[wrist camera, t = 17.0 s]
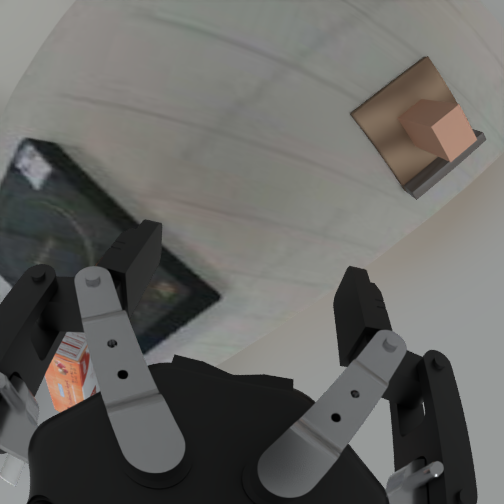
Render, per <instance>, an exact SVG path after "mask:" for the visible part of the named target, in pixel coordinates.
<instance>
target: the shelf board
mask: <svg viewBox="0 0 504 504" xmlns="http://www.w3.org/2000/svg"><path fill="white" fill-rule="evenodd" d="M421 99H425V100H433V101H441V102H448V103H454V104H457V102H456V100H455V98H454V97H453V95H452V93H451V92H450V90H449V88H448V87H447V85H446V83H445V82H444V80H443V78H442V77H441V75H440V74H439V72H438V71H437V69H436V68H435V66H434V65H433V63H432V62H431V60H430V59H429V57H428V56H427V57H424V58H422V59H421V60H420V61H418V62H417V63H415V64H414V65H413V66H411V67H410V68H409V69H407V70H406V71H405V72H403V73H402V74H401V75H399V76H398V77H397V78H396V79H394V80H393V81H392V82H390V83H389V84H388V85H386V86H385V87H384V88H382V89H381V90H380V91H379V92H377V93H376V94H375V95H373V96H372V97H371V98H370V99H368V100H367V101H366V102H364V103H363V104H362V105H361V106H359V107H358V108H357V109H356V110H354V111H353V112H352V113H351V116H352V117H353V118H354V120H355V121H356V122H357V123H358V125H359V126H360V127H361V129H362V130H363V131H364V133H365V134H366V135H367V137H368V138H369V139H370V141H371V142H372V143H373V145H374V146H375V147H376V149H377V150H378V152H379V153H380V155H381V156H382V157H383V159H384V160H385V162H386V163H387V165H388V166H389V167H390V169H391V170H392V172H393V173H394V175H395V176H396V178H397V179H398V181H399V182H400V184H401V186H402V187H403V189H404V190H405V191H406V192H407V193H409V194H410V195H411V196H413V197H414V198H415V199H416V200H417V199H418V198H419V197H421V196H422V195H423V194H424V193H425V192H427V191H428V190H429V189H430V188H431V187H433V186H434V185H435V184H436V183H437V182H439V181H440V180H441V179H442V178H443V177H444V176H446V175H447V174H448V173H449V172H450V171H451V170H453V169H454V168H455V167H456V166H457V165H458V164H460V163H461V162H462V161H463V160H464V159H465V158H466V157H468V156H469V155H470V154H471V153H472V152H473V151H474V150H475V149H477V148H478V147H479V146H480V145H481V144H482V143H483V142H484V141H486V138H485V136H484V133H483V132H480V131H477V130H474V129H472V130H473V132H474V134H475V136H476V138H477V140H476V141H475V142H474V143H473V144H472V145H471V146H469V147H468V148H467V149H466V150H465V151H464V152H462V153H461V154H460V155H459V156H458V157H457V158H455V159H454V160H453V161H452V162H449V161H447V160H445V159H443V158H440V157H438V156H436V155H434V154H432V153H429V152H427V151H425V150H423V149H420V148H418V147H416V146H415V145H414V143H413V141H412V140H411V138H410V137H409V135H408V134H407V132H406V130H405V129H404V127H403V126H402V124H401V123H400V121H399V120H398V117H399V116H400V115H402V114H403V113H404V112H406V111H407V110H408V109H409V108H411V107H412V106H413V105H415V104H416V103H417V102H418V101H420V100H421Z"/></svg>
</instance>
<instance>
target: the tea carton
mask: <svg viewBox="0 0 504 504" xmlns="http://www.w3.org/2000/svg"><path fill="white" fill-rule="evenodd" d="M398 120H399V121H400V123H401V124H402V126H403V127H404V129H405V130H406V132H407V134H408V135H409V137H410V138H411V140H412V141H413V143H414V145H415V146H416V147H418V148H420V149H423V150H425V151H427V152H429V153H432V154H434V155H436V156H438V157H440V158H443V159H445V160H447V161H449V162H452V161H453V160H454V159H455V158H457V157H458V156H459V155H460V154H461V153H462V152H464V151H465V150H466V149H467V148H468V147H469V146H471V145H472V144H473V143H474V142H475V141H476V140H477V138H476V136H475V134H474V132H473V130H472V128H471V126H470V124H469V122H468V120H467V118H466V116H465V114H464V112H463V110H462V109H461V107H460V105H459V104H454V103H448V102H441V101H433V100H425V99H421V100H420V101H418V102H417V103H416V104H415V105H413V106H412V107H411V108H409V109H408V110H407V111H406V112H404V113H403V114H402V115H400V116H399V117H398Z"/></svg>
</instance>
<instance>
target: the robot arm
mask: <svg viewBox="0 0 504 504" xmlns="http://www.w3.org/2000/svg"><path fill="white" fill-rule="evenodd" d="M161 242H162V223H159V222H155V221H150V220H146V219H145V220H143V221H142V223H141V224H140V225H139V227H138V228H137V229H132V228H130V229H128V230H127V231H125V232H123V233H121V234H120V236H119V237H118V238H117V239H116V241H115V242H114V243H113V244H112V246H111V248H109V249H108V251H107V252H106V253H105V254H104V256H103V257H102V258H101V259H100V261H99V262H98V263H97V265H96V266H92V267H87V268H84V269H82V270H81V271H79V272H78V273H77V275H76V276H75V277H56V273H55V270H54V269H53V268H52V267H51V266H49V265H45V264H39V265H35V266H33V267H31V268H29V269H28V270H27V271H26V272H25V273H24V274H23V275H22V276H21V278H20V279H19V280H18V282H17V283H16V284H15V285H14V287H13V288H12V289H11V291H10V292H9V293H8V294H7V296H6V297H5V298H4V300H3V301H2V302H1V304H0V454H4V453H9V454H11V455H12V456H14V457H16V458H18V459H20V460H22V461H24V462H26V463H28V464H29V469H30V494H29V499H28V502H27V504H476V503H477V487H476V478H475V471H474V464H473V458H472V452H471V447H470V441H469V436H468V431H467V426H466V421H465V417H464V412H463V408H462V404H461V400H460V396H459V392H458V388H457V384H456V380H455V377H454V374H453V370H452V366H451V364H450V361H449V360H448V359H447V357H446V356H445V355H443V354H442V353H441V352H438V351H436V350H430V351H428V352H426V353H425V355H424V356H423V357H421V356H419V355H417V354H414V353H412V352H409V351H407V348H406V344H405V342H404V340H403V339H402V338H401V337H400V336H399V335H398V334H396V333H395V332H393V331H392V328H391V324H390V320H389V317H388V313H387V310H386V309H385V308H386V307H385V304H384V302H383V301H384V300H383V297H382V294H381V291H380V290H379V289H378V287H377V286H376V285H375V283H371V282H370V280H369V276H368V273H367V271H366V270H365V269H361V268H357V267H352V266H349V267H348V268H347V270H346V272H345V274H344V277H343V279H342V281H341V283H340V285H339V288H338V290H337V292H336V294H335V297H334V303H333V306H334V307H333V308H334V315H335V324H336V332H337V340H338V350H339V359H340V366H344V367H347V368H346V369H345V371H344V372H343V373H342V374H341V375H340V376H339V378H338V379H337V380H336V381H335V382H334V383H333V384H332V385H331V386H330V388H329V389H328V390H327V391H326V392H325V393H324V394H323V395H322V396H321V397H320V398H319V400H318V401H317V402H315V401H314V400H312V399H311V398H310V397H309V396H307V395H306V394H304V393H303V392H301V391H299V390H296V389H294V388H293V379H288V378H282V377H276V376H270V375H265V374H263V375H232V374H229V373H227V372H225V371H223V370H220V369H218V368H216V367H214V366H212V365H210V364H207V363H205V362H203V361H199V360H194V359H190V358H186V357H182V356H178V355H174V358H173V361H172V363H157V364H152V365H149V366H147V364H146V362H145V359H144V357H143V354H142V352H141V349H140V347H139V344H138V342H137V339H136V337H135V334H134V332H133V329H132V326H131V324H130V321H129V320H130V318H131V316H132V314H133V312H134V310H135V308H136V306H137V304H138V302H139V300H140V299H141V297H142V295H143V293H144V291H145V289H146V287H147V285H148V284H149V282H150V280H151V278H152V276H153V274H154V273H155V271H156V269H157V267H158V265H159V262H160V257H161ZM67 332H80V333H85V337H86V341H87V345H88V349H89V353H90V357H91V361H92V364H93V368H94V371H95V375H96V378H97V382H98V385H99V388H100V391H99V392H98V393H96V394H94V395H92V396H90V397H88V398H87V399H85V400H83V401H81V402H79V403H77V404H75V405H74V406H72V407H70V408H68V409H66V410H64V411H62V412H60V413H59V414H57V415H55V416H53V417H51V418H49V419H48V420H46V421H44V422H43V423H42V424H40V425H39V426H38V425H37V420H38V415H39V406H38V403H37V401H36V400H35V398H34V397H35V395H36V392H37V390H38V388H39V386H40V384H41V382H42V380H43V377H44V376H45V373H46V371H47V369H48V367H49V365H50V363H51V361H52V359H53V357H54V355H55V353H56V351H57V350H58V348H59V346H60V344H61V342H62V340H63V338H64V336H65V334H66V333H67ZM380 398H384V399H387V400H389V403H390V412H391V423H392V435H393V448H394V465H395V466H394V467H395V473H393V474H392V475H391V476H390V478H389V479H388V482H387V488H386V489H384V487H383V486H382V485H381V483H380V482H379V481H378V480H377V479H376V477H375V476H374V475H373V474H372V472H371V471H370V470H369V469H368V467H367V466H366V465H365V464H364V463H363V461H362V460H361V459H360V458H359V456H358V455H357V454H356V453H355V451H354V450H353V449H352V448H351V446H350V445H349V444H348V443H349V442H350V440H351V439H352V437H353V436H354V435H355V434H356V432H357V431H358V429H359V428H360V427H361V425H362V424H363V423H364V421H365V420H366V418H367V417H368V416H369V414H370V413H371V411H372V410H373V408H374V407H375V405H376V404H377V402H378V401H379V399H380ZM423 402H424V407H425V416H424V410H423V404H422V403H423Z"/></svg>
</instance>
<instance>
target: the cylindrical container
mask: <svg viewBox="0 0 504 504" xmlns="http://www.w3.org/2000/svg"><path fill="white" fill-rule="evenodd" d="M24 464H25V462H24V461H22V460H20V459H18V458H16V457H14V456H12V455H11V454H9V453H8V456H7V458H6V460H5V463H4V465H3V468H2V470H1V472H0V477H1V478H2V479H3V480H5V481H6V482H8V483H9V484H11V485H13V486H16V485H17V482H18V479H19V477H20V474H21V472H22V469H23V467H24Z"/></svg>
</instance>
